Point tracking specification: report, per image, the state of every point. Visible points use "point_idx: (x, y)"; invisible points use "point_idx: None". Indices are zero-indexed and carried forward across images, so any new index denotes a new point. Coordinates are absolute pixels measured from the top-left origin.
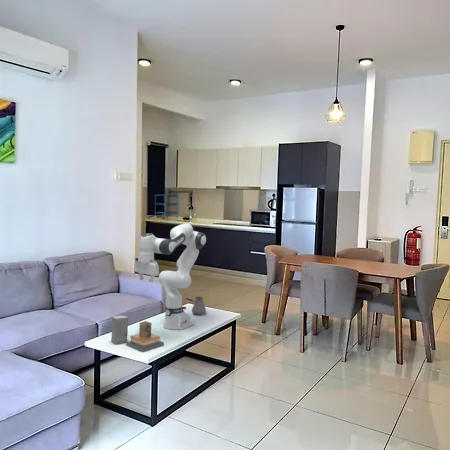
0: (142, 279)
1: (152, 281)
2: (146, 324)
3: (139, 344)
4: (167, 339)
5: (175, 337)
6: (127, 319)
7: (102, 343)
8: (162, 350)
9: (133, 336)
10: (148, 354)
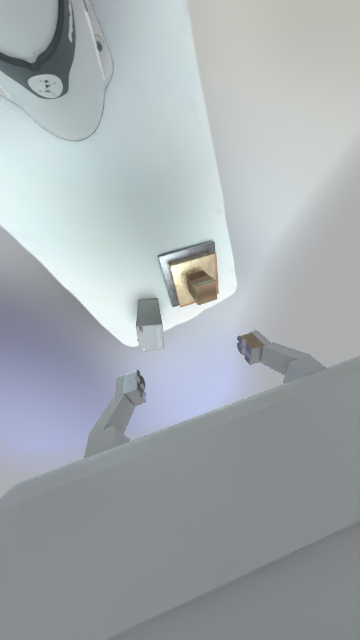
0: (139, 376)
1: (257, 334)
2: (216, 294)
3: None
4: (182, 208)
5: (180, 173)
6: (161, 322)
7: None
8: (229, 256)
9: (187, 303)
10: (228, 286)
